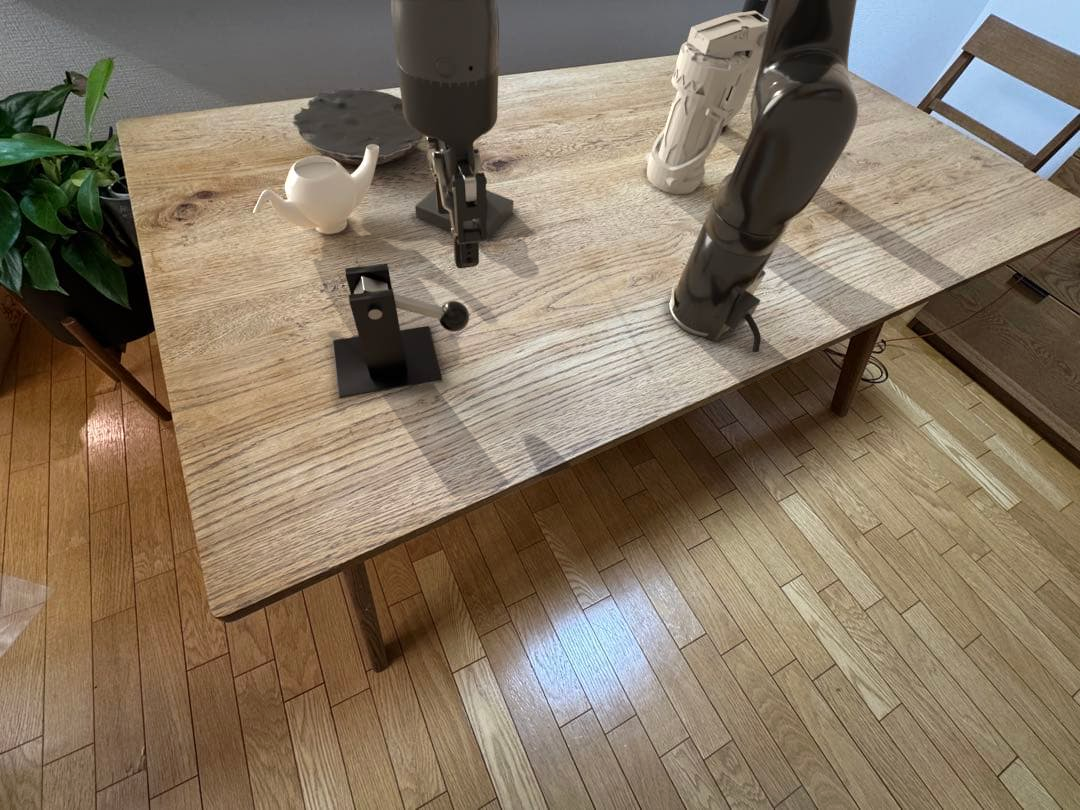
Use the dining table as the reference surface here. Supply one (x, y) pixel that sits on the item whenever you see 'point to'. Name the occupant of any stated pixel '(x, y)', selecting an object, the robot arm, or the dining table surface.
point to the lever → (422, 306)
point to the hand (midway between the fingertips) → (457, 237)
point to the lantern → (705, 97)
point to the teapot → (322, 192)
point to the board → (357, 125)
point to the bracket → (381, 342)
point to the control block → (495, 216)
